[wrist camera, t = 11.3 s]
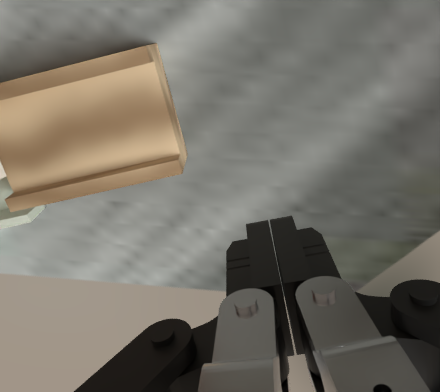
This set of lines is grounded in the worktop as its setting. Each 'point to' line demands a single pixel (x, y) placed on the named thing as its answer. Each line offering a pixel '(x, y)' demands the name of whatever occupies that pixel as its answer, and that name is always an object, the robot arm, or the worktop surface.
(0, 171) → the tile
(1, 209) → the tray
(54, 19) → the worktop surface
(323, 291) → the robot arm
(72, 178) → the wooden u-channel
